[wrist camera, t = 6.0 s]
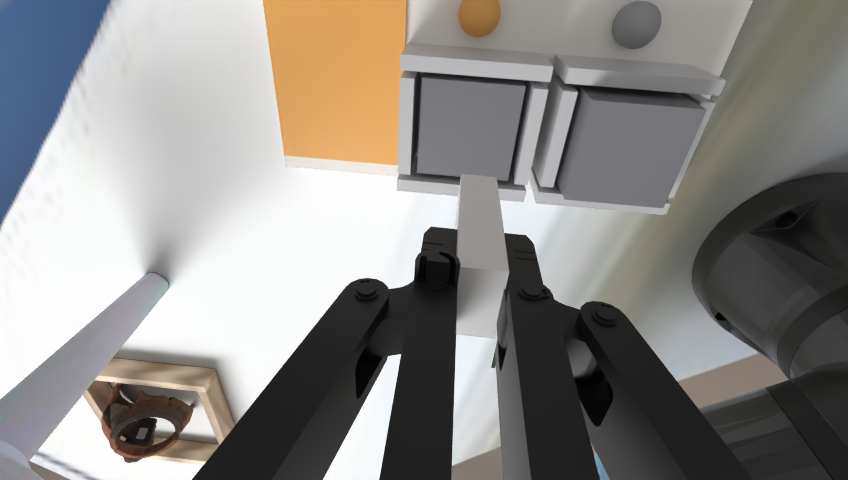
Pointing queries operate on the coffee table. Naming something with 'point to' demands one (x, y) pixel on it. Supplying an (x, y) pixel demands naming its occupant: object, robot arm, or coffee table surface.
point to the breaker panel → (481, 75)
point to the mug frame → (170, 378)
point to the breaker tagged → (468, 124)
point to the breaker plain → (626, 145)
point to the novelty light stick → (68, 377)
